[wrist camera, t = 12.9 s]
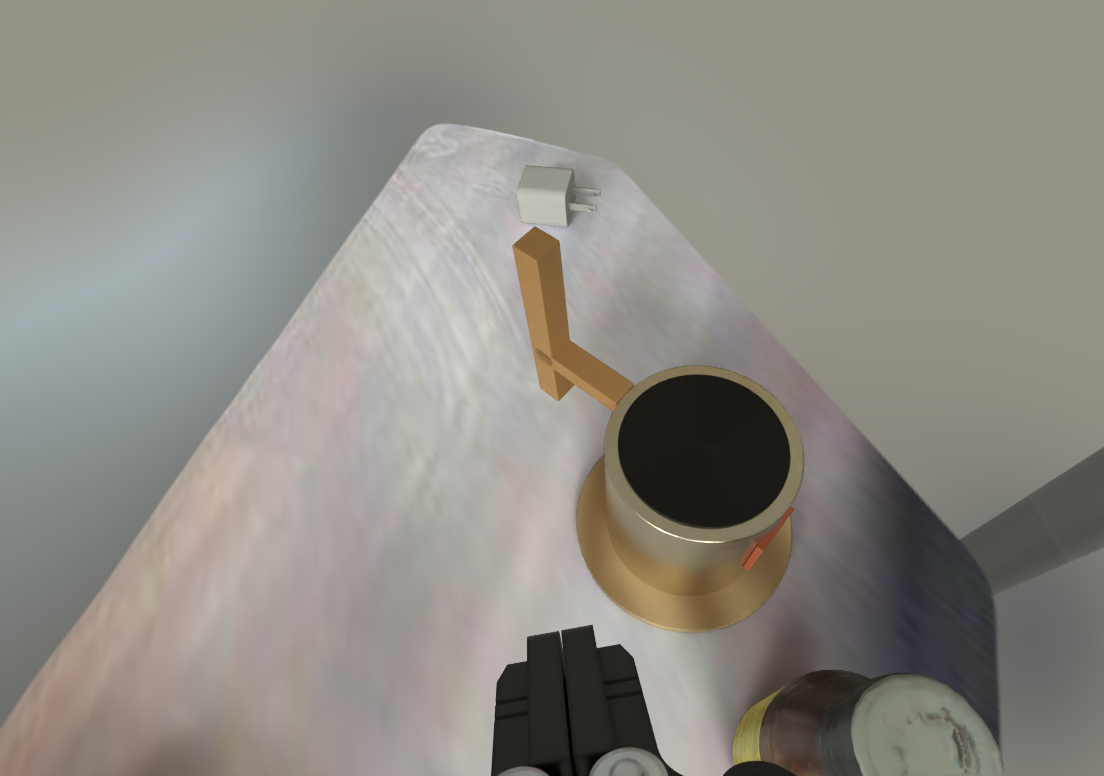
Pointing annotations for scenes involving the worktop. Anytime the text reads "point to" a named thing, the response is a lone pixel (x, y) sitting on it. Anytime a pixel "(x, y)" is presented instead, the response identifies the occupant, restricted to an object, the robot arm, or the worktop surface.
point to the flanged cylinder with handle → (671, 448)
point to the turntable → (666, 607)
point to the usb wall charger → (550, 196)
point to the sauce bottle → (868, 728)
